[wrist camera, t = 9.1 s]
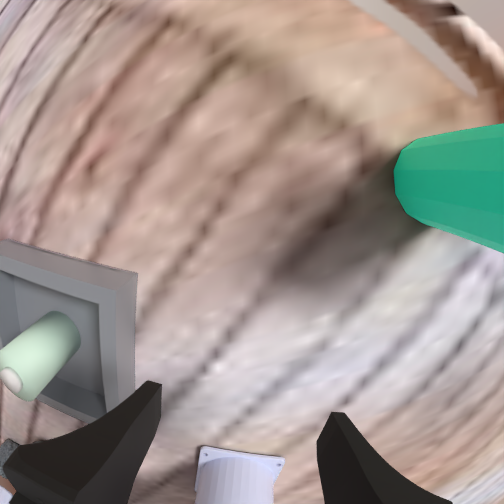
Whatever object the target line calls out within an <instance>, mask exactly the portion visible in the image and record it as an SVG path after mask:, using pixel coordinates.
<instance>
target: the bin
mask: <svg viewBox="0 0 504 504" xmlns="http://www.w3.org/2000/svg"><path fill="white" fill-rule="evenodd" d="M137 277H138V273H135V272H131V271H127V270H123V269H119V268H115V267H111V266H107V265H103V264H99V263H95V262H91V261H87V260H83V259H79V258H75V257H72V256H68V255H64V254H61V253H57V252H53V251H50V250H46V249H42V248H39V247H35V246H32V245H28V244H25V243H22V242H18V241H15V240H11V239H6V240H3V241H0V350H1V349H3V348H4V347H5V346H6V345H7V344H9V343H10V342H11V341H12V340H14V339H15V338H16V337H17V336H19V335H20V334H21V333H22V332H24V331H25V330H26V329H27V328H29V327H30V326H31V325H33V324H34V323H35V322H36V321H38V320H39V319H40V318H42V317H43V316H44V315H46V314H47V313H48V312H50V311H59V312H62V313H64V314H65V315H67V316H68V317H69V318H70V319H71V320H72V321H73V322H74V324H75V325H76V327H77V329H78V331H79V334H80V338H81V345H80V348H79V349H78V351H77V352H76V353H75V354H74V355H73V356H72V357H71V358H70V359H69V361H68V362H67V363H66V364H65V365H64V366H63V367H62V368H61V369H60V371H59V372H58V373H57V374H56V375H55V376H54V377H53V378H52V380H51V381H50V382H49V383H48V384H47V385H46V386H45V388H44V389H43V390H42V391H41V392H40V393H39V395H38V396H37V397H36V398H35V399H37V400H39V401H41V402H43V403H45V404H47V405H49V406H51V407H53V408H55V409H57V410H59V411H61V412H63V413H65V414H68V415H70V416H72V417H74V418H77V419H79V420H81V421H83V422H86V423H88V424H90V423H92V422H94V421H95V420H97V419H99V418H100V417H102V416H103V415H105V414H106V413H108V412H109V411H111V410H112V409H114V408H115V407H116V406H118V405H119V404H120V403H122V402H123V401H124V400H125V399H127V398H128V397H129V396H130V395H131V394H133V393H134V392H135V313H136V293H137Z"/></svg>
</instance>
